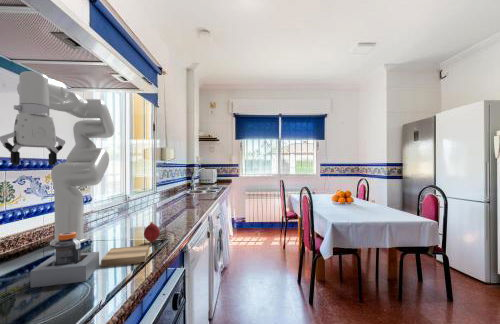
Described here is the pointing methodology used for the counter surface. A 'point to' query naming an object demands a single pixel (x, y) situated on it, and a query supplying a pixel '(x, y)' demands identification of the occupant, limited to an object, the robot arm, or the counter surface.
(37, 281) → the socket collar
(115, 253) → the pad
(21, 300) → the counter surface
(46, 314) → the counter surface
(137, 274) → the counter surface
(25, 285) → the counter surface
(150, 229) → the onion
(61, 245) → the pill bottle
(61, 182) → the robot arm
